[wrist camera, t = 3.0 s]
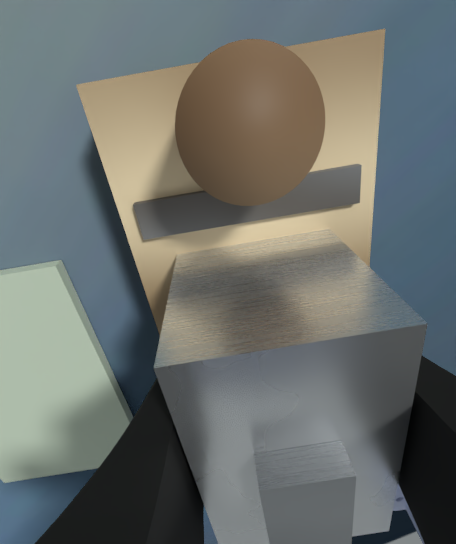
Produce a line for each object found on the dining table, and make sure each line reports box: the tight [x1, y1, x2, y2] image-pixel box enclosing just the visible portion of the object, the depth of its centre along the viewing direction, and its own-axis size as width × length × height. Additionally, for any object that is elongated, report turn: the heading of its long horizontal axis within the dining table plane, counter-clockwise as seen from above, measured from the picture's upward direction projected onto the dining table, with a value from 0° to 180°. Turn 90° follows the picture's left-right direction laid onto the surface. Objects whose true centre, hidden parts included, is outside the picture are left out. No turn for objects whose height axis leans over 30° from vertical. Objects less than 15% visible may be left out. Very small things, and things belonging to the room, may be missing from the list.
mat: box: [0, 260, 133, 483], centre depth 14 cm, size 12×8×1 cm, turn 9°
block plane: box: [76, 29, 385, 335], centre depth 10 cm, size 14×7×5 cm, turn 9°
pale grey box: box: [154, 229, 427, 544], centre depth 8 cm, size 7×4×5 cm, turn 9°
